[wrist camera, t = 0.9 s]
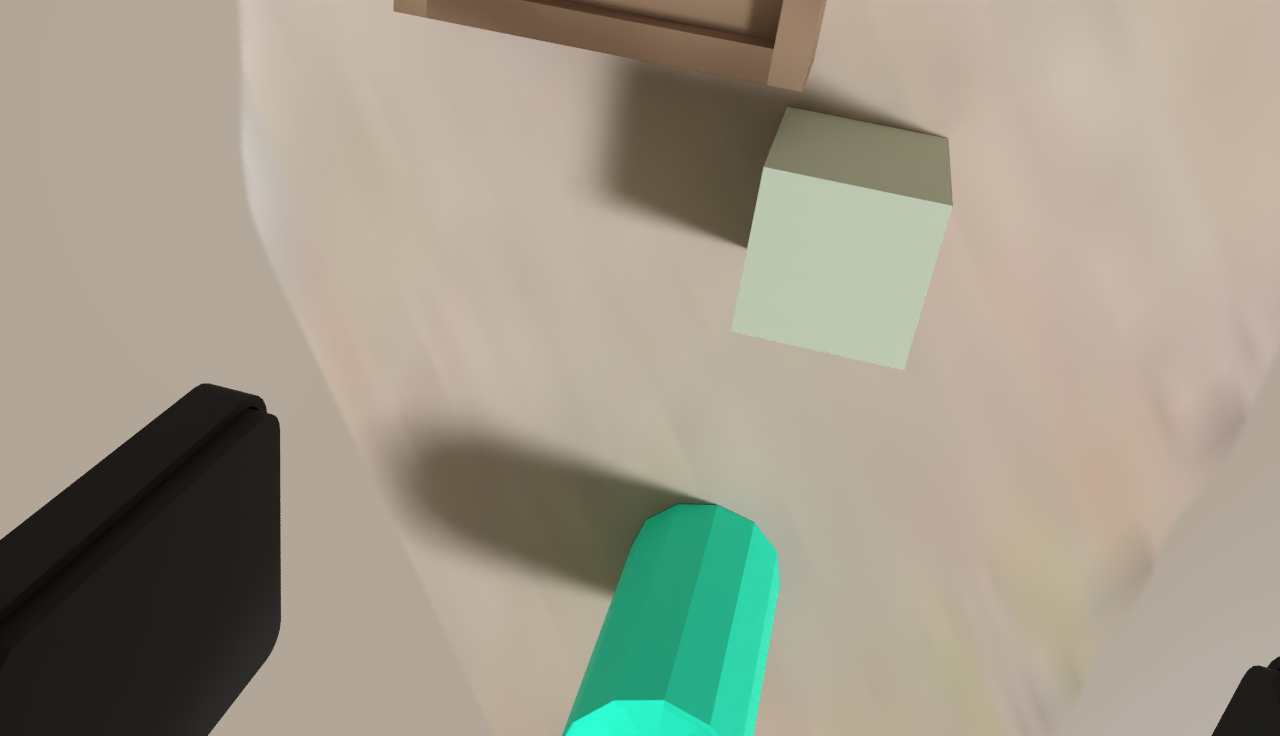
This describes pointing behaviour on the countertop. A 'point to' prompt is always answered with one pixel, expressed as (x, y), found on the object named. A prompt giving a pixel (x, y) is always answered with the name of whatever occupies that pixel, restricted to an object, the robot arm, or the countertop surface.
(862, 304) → the sage block
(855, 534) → the countertop surface
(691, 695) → the candle
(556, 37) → the base block
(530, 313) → the countertop surface
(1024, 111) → the countertop surface
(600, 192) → the countertop surface
